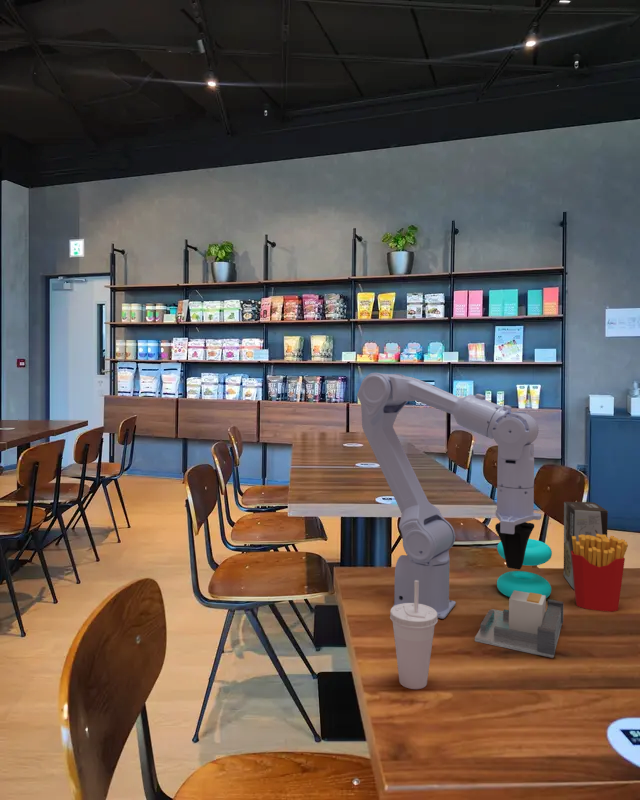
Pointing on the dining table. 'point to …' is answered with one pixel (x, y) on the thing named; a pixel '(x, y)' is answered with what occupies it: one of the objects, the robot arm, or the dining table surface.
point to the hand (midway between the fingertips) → (514, 567)
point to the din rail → (541, 643)
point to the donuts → (526, 580)
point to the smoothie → (413, 640)
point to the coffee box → (581, 528)
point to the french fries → (598, 571)
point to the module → (526, 611)
